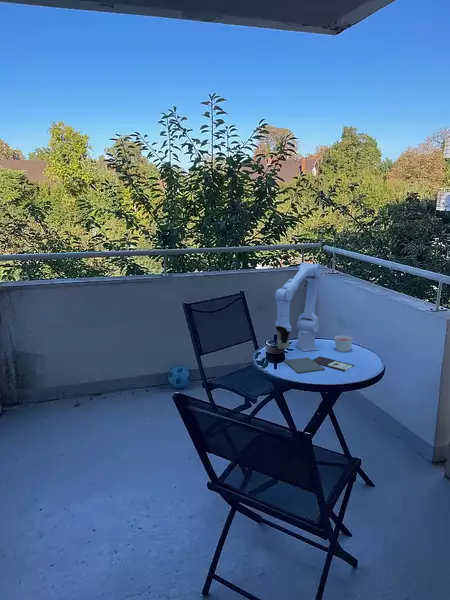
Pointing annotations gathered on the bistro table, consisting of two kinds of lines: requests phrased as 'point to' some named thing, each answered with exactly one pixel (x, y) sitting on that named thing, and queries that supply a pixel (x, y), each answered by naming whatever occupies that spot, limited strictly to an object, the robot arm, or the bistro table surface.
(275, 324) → the robot arm
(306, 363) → the rubber mat
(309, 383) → the bistro table surface
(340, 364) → the chocolate bar
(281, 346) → the ash tile
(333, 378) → the bistro table surface
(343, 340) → the candle
